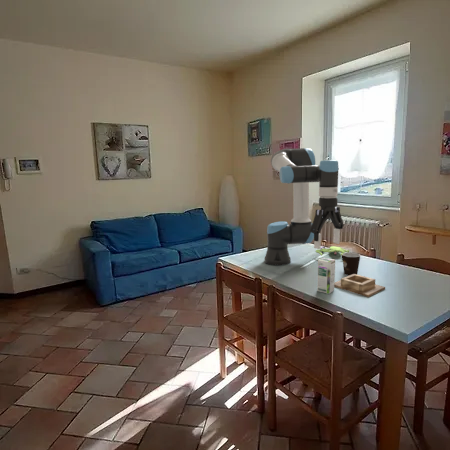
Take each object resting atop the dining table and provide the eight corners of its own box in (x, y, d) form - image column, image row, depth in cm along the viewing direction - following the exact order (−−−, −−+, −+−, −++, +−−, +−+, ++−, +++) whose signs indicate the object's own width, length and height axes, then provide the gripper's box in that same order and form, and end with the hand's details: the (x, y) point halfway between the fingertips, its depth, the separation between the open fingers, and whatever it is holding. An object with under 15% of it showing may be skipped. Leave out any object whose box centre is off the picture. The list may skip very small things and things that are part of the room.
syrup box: (316, 291, 146) (317, 259, 144) (322, 287, 151) (323, 256, 148) (328, 294, 142) (329, 262, 140) (334, 290, 147) (335, 259, 144)
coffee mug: (361, 276, 163) (362, 257, 162) (342, 276, 165) (343, 256, 163) (356, 269, 174) (357, 251, 173) (339, 269, 176) (340, 250, 174)
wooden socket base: (331, 285, 152) (331, 277, 152) (348, 279, 160) (349, 271, 160) (368, 297, 138) (368, 288, 137) (385, 289, 146) (385, 280, 146)
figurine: (314, 260, 195) (314, 251, 194) (319, 249, 219) (320, 241, 218) (347, 263, 188) (347, 253, 187) (349, 251, 212) (349, 243, 211)
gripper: (317, 200, 129) (316, 252, 133) (352, 195, 144) (351, 242, 147) (301, 198, 135) (301, 249, 139) (337, 194, 150) (336, 239, 153)
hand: (327, 245), depth 143 cm, fingers open, 13 cm apart
